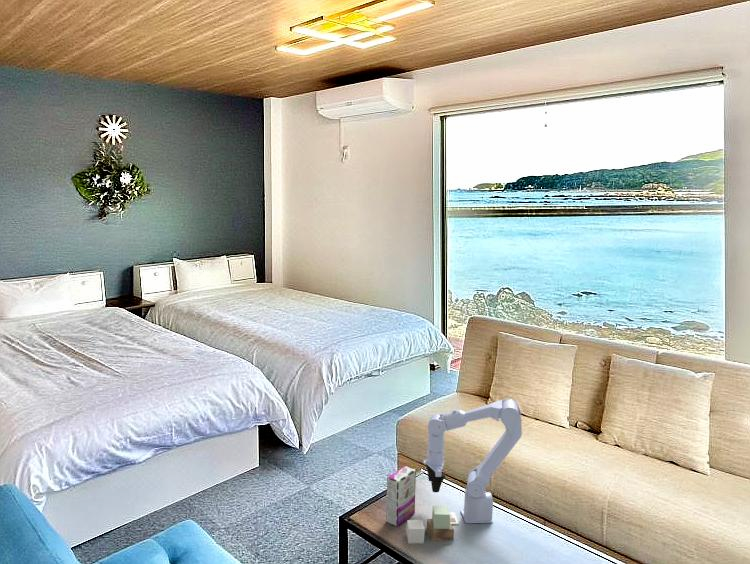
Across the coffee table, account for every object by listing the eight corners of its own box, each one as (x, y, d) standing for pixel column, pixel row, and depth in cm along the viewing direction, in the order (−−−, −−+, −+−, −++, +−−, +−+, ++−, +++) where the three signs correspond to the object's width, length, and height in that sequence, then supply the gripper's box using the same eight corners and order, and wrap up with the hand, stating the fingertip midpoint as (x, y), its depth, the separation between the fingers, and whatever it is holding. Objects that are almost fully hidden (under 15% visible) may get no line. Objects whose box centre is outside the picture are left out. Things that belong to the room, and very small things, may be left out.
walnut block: (446, 528, 186) (446, 517, 185) (453, 540, 179) (454, 529, 179) (426, 530, 184) (426, 519, 184) (432, 542, 178) (433, 531, 177)
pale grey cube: (421, 534, 182) (422, 520, 181) (423, 543, 177) (424, 528, 176) (406, 534, 181) (407, 520, 181) (408, 543, 176) (409, 529, 176)
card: (454, 513, 195) (454, 511, 194) (458, 524, 188) (458, 523, 188) (440, 513, 194) (440, 512, 194) (444, 524, 187) (444, 523, 187)
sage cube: (447, 520, 184) (447, 506, 183) (449, 528, 179) (450, 514, 178) (432, 519, 183) (432, 505, 183) (434, 528, 178) (434, 514, 178)
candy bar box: (403, 508, 197) (405, 464, 194) (415, 513, 194) (417, 469, 191) (384, 522, 188) (386, 476, 186) (396, 527, 185) (398, 481, 183)
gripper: (421, 440, 199) (419, 476, 201) (427, 459, 185) (425, 497, 187) (440, 440, 200) (438, 476, 202) (448, 459, 185) (446, 496, 187)
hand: (433, 486), depth 194 cm, fingers open, 7 cm apart
